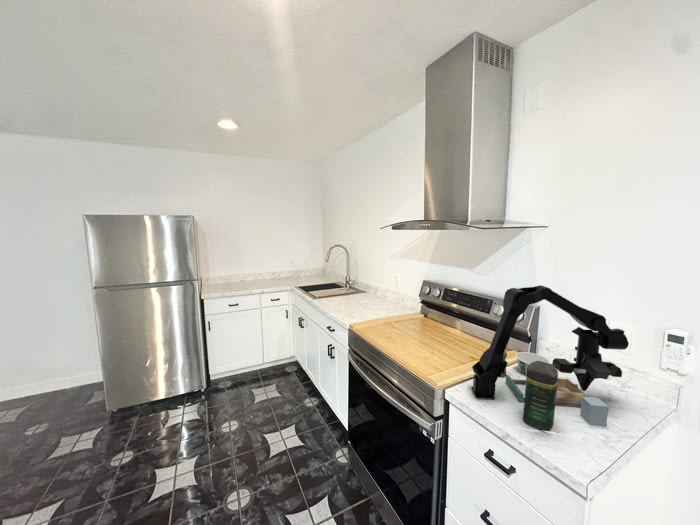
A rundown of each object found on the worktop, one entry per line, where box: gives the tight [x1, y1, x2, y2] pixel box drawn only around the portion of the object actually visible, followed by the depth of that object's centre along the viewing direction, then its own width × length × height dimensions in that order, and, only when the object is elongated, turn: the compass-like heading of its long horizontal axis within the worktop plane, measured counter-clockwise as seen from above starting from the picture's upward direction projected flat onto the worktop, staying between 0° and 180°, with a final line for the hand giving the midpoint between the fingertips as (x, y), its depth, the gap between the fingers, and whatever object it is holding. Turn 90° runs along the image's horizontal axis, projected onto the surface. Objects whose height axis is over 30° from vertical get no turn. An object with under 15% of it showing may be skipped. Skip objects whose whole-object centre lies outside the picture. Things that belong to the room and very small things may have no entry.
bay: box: [505, 374, 581, 409], centre depth 103 cm, size 26×16×4 cm, turn 81°
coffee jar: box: [522, 361, 559, 432], centre depth 89 cm, size 10×8×19 cm
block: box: [579, 396, 609, 427], centre depth 89 cm, size 4×4×7 cm
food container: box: [515, 351, 551, 376], centre depth 119 cm, size 12×12×6 cm
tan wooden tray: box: [556, 377, 586, 402], centre depth 102 cm, size 10×10×4 cm
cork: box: [499, 350, 508, 378], centre depth 117 cm, size 6×6×11 cm
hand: (583, 390), depth 101 cm, fingers closed
